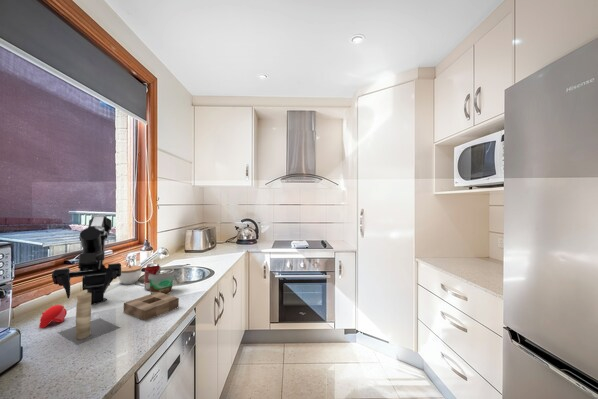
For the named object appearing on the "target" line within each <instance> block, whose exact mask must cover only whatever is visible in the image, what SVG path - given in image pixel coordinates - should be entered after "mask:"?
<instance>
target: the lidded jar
mask: <svg viewBox="0 0 598 399" xmlns="http://www.w3.org/2000/svg"><path fill="white" fill-rule="evenodd" d="M142 268H143V267H142V265H132V264H129V265H126V266H121V276H120V277H117V279H118V281H119V282H121V284H123V285H131V284H135V283H137V281H138V280H139V279H140V277H141V274H142Z"/></svg>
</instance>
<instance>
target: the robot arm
mask: <svg viewBox="0 0 598 399" xmlns="http://www.w3.org/2000/svg"><path fill="white" fill-rule="evenodd" d="M112 226H113V225H112V219H110V218H108V217H107V215H104V214H100V215H99V214H97V215H96V214H95V215H92V216H91V219H89V220H88V226H87V227H86V228H85V229H83V230H82V231H81V232H80V233H79V241H80V245H81V248H82V251H81V252H82V253H79V257H78V266H77V267H78V268H77V269H78V270H73V271H70V267H67V268H57V269H54V270H53V271H52V273H51V278H52V282H53V284H54V285H58V286H60V287H63V289H64V290H65V294H66V297H67V299H70V297H71V279H72V278H80V277H82V280H81V282H82V283H81V284H82V285H81V287H82V291H86V293H91V306H92V305H96V304H100V303H103V302H106V301H108V298H106V297H105V293H106V291H107V289H108V288H109V286H110V285H111V283H112V282H113V280H115V279H116V280H117V279H118V277H120V276H121V267H122V264H121V263H120V262H116V263H115V262H114V263H108V264H107V267H106V265H105V264H104V261H105V253H106V252H105V244H106V243H105V242H106V240H107V239H108V238H109V235H110V234H111V232H110V231H112V228H113V227H112Z"/></svg>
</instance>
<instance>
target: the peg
mask: <svg viewBox="0 0 598 399" xmlns="http://www.w3.org/2000/svg"><path fill="white" fill-rule="evenodd" d="M75 306H76V307H75V309H76V310H75V312H76V313H75V326H76V339H77V340H80V339H85V338H87V337H89V336H90V328H91V321H92V320H91V319H92V316H91V315H92V305H91V293H87V292H83V293H79V294H77V295H76V305H75Z"/></svg>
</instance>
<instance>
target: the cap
mask: <svg viewBox="0 0 598 399" xmlns="http://www.w3.org/2000/svg"><path fill="white" fill-rule="evenodd" d="M67 314H68V311H67V309H66V308H65V306H64V305H62V304H55V305H53V306H51V307H49V308H48V309H46V310H45V311H44V312H42V314H41V316H40V321H39V326H38V328H40V329H45V328H47V326H49V324H50V323H51V322H57V323H59V324H61V323H63V322H64V320H65V318H66V317H67Z"/></svg>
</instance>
